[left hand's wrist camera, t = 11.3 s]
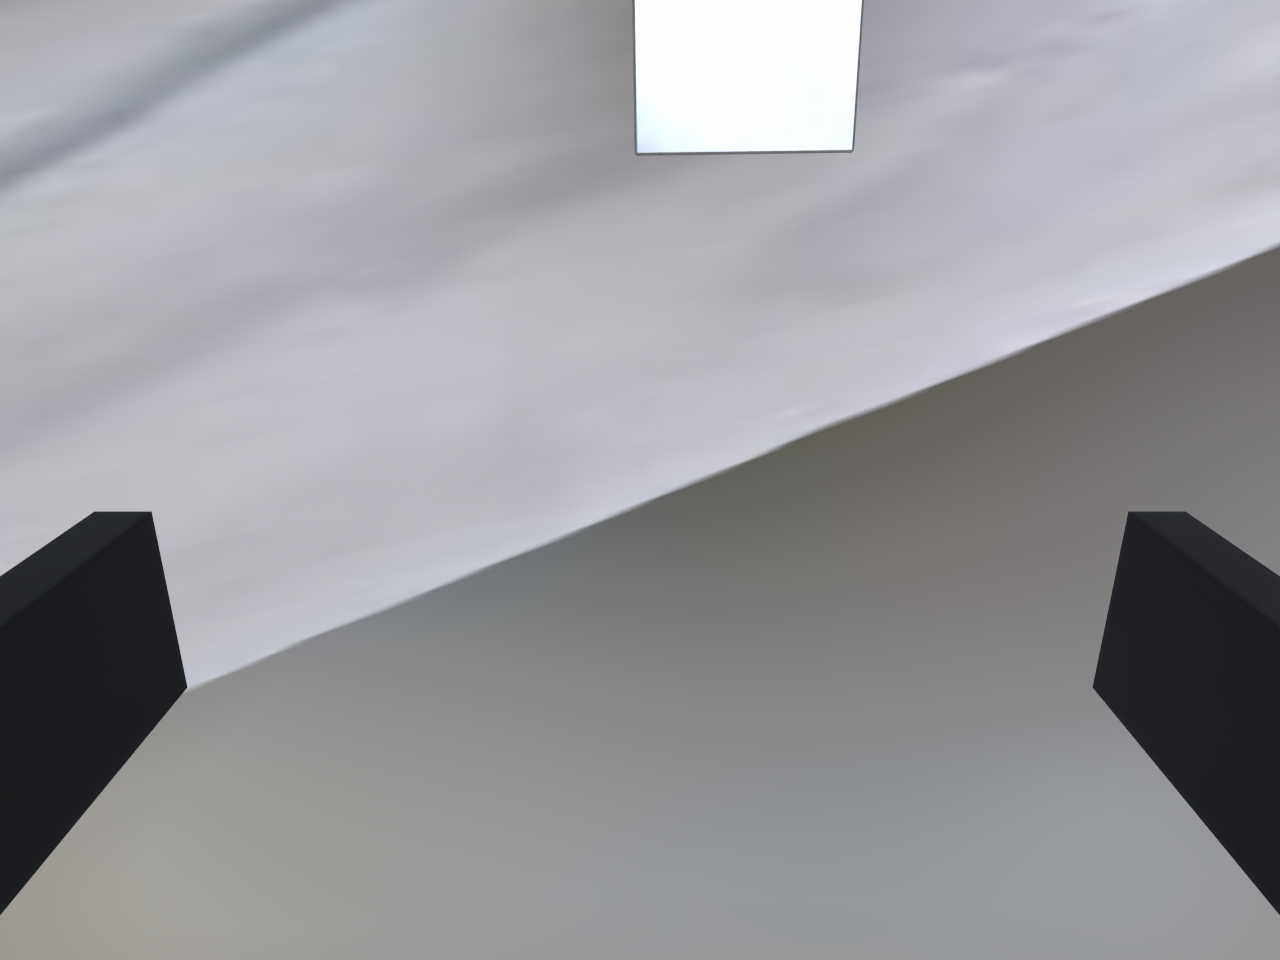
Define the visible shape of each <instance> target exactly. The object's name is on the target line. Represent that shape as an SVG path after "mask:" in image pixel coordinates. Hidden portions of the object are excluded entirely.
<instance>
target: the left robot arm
mask: <svg viewBox="0 0 1280 960" xmlns="http://www.w3.org/2000/svg"><path fill="white" fill-rule="evenodd" d="M186 688H187V684H186V679H185V674H184V669H183V664H182V659H181V654H180V649H179V644H178V639H177V635H176V630H175V625H174V620H173V615H172V610H171V605H170V600H169V595H168V590H167V586H166V581H165V576H164V571H163V566H162V561H161V556H160V551H159V546H158V541H157V536H156V532H155V527H154V522H153V517H152V512H93V513H92V514H90V515H89V516H87V517H86V518H85V519H83V520H82V521H80V522H79V523H77V524H76V525H74V526H73V527H71V528H70V529H69V530H67V531H66V532H64V533H63V534H61V535H60V536H58V537H57V538H55V539H54V540H53V541H51V542H50V543H48V544H47V545H45V546H44V547H42V548H41V549H40V550H38V551H37V552H35V553H34V554H32V555H31V556H29V557H28V558H26V559H25V560H24V561H22V562H21V563H19V564H18V565H16V566H15V567H13V568H12V569H10V570H9V571H8V572H6V573H5V574H3V575H2V576H0V915H1V913H2V912H3V911H4V910H5V909H6V907H7V906H8V905H9V904H10V903H11V901H12V900H13V899H14V898H15V896H16V895H17V894H18V893H19V892H20V890H21V889H22V888H23V887H24V885H25V884H26V883H27V882H28V881H29V879H30V878H31V877H32V876H33V874H34V873H35V872H36V871H37V870H38V868H39V867H40V866H41V865H42V864H43V862H44V861H45V860H46V859H47V857H48V856H49V855H50V854H51V853H52V851H53V850H54V849H55V848H56V847H57V845H58V844H59V843H60V842H61V840H62V839H63V838H64V837H65V836H66V834H67V833H68V832H69V831H70V829H71V828H72V827H73V826H74V825H75V823H76V822H77V821H78V820H79V818H80V817H81V816H82V815H83V814H84V812H85V811H86V810H87V809H88V808H89V806H90V805H91V804H92V803H93V802H94V800H95V799H96V798H97V797H98V795H99V794H100V793H101V792H102V791H103V789H104V788H105V787H106V786H107V784H108V783H109V782H110V781H111V780H112V778H113V777H114V776H115V775H116V774H117V772H118V771H119V770H120V769H121V767H122V766H123V765H124V764H125V763H126V761H127V760H128V759H129V758H130V757H131V755H132V754H133V753H134V752H135V750H136V749H137V748H138V747H139V745H140V744H141V743H142V742H143V741H144V739H145V738H146V737H147V736H148V735H149V733H150V732H151V731H152V730H153V729H154V727H155V726H156V725H157V724H158V722H159V721H160V720H161V719H162V718H163V716H164V715H165V714H166V713H167V711H168V710H169V709H170V708H171V707H172V705H173V704H174V703H175V702H176V701H177V699H178V698H179V697H180V696H181V694H182V693H183V692H184V691H185V690H186ZM1093 688H1094V690H1095V691H1096V692H1097V693H1098V694H1099V696H1100V697H1101V698H1102V699H1103V700H1104V702H1105V703H1106V704H1107V705H1108V707H1109V708H1110V709H1111V710H1112V711H1113V713H1114V714H1115V715H1116V716H1117V718H1118V719H1119V720H1120V721H1121V722H1122V724H1123V725H1124V726H1125V727H1126V729H1127V730H1128V731H1129V732H1130V733H1131V735H1132V736H1133V737H1134V738H1135V739H1136V741H1137V742H1138V743H1139V744H1140V745H1141V747H1142V748H1143V749H1144V750H1145V752H1146V753H1147V754H1148V755H1149V757H1150V758H1151V759H1152V760H1153V761H1154V763H1155V764H1156V765H1157V766H1158V767H1159V769H1160V770H1161V771H1162V772H1163V774H1164V775H1165V776H1166V777H1167V778H1168V780H1169V781H1170V782H1171V783H1172V784H1173V786H1174V787H1175V788H1176V789H1177V791H1178V792H1179V793H1180V794H1181V795H1182V797H1183V798H1184V799H1185V800H1186V802H1187V803H1188V804H1189V805H1190V806H1191V808H1192V809H1193V810H1194V811H1195V812H1196V814H1197V815H1198V816H1199V817H1200V819H1201V820H1202V821H1203V822H1204V823H1205V825H1206V826H1207V827H1208V828H1209V830H1210V831H1211V832H1212V833H1213V834H1214V836H1215V837H1216V838H1217V839H1218V840H1219V842H1220V843H1221V844H1222V845H1223V847H1224V848H1225V849H1226V850H1227V851H1228V853H1229V854H1230V855H1231V856H1232V857H1233V859H1234V860H1235V861H1236V862H1237V864H1238V865H1239V866H1240V867H1241V868H1242V870H1243V871H1244V872H1245V873H1246V875H1247V876H1248V877H1249V878H1250V879H1251V881H1252V882H1253V883H1254V884H1255V885H1256V887H1257V888H1258V889H1259V890H1260V892H1261V893H1262V894H1263V895H1264V896H1265V898H1266V899H1267V900H1268V901H1269V903H1270V904H1271V905H1272V906H1273V907H1274V909H1275V910H1276V911H1277V912H1278V913H1279V915H1280V576H1278V575H1277V574H1275V573H1274V572H1272V571H1271V570H1270V569H1268V568H1267V567H1265V566H1264V565H1262V564H1261V563H1259V562H1258V561H1256V560H1255V559H1254V558H1252V557H1251V556H1249V555H1248V554H1246V553H1245V552H1243V551H1242V550H1240V549H1239V548H1238V547H1236V546H1235V545H1233V544H1232V543H1230V542H1229V541H1227V540H1226V539H1225V538H1223V537H1222V536H1220V535H1219V534H1217V533H1216V532H1214V531H1213V530H1211V529H1210V528H1209V527H1207V526H1206V525H1204V524H1203V523H1201V522H1200V521H1198V520H1197V519H1195V518H1194V517H1192V516H1191V515H1190V514H1188V513H1187V512H1128V517H1127V522H1126V527H1125V532H1124V536H1123V542H1122V546H1121V551H1120V556H1119V561H1118V566H1117V571H1116V576H1115V581H1114V586H1113V590H1112V595H1111V600H1110V605H1109V610H1108V615H1107V620H1106V625H1105V630H1104V635H1103V640H1102V644H1101V649H1100V654H1099V659H1098V664H1097V669H1096V674H1095V679H1094V684H1093Z"/></svg>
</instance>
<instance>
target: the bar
mask: <svg viewBox="0 0 1280 960" xmlns="http://www.w3.org/2000/svg"><path fill="white" fill-rule="evenodd" d="M632 5H633V72H634V138H635V155H637V156H650V155H718V154H786V153H851V152H853V150H854V141H855V126H856V111H857V96H858V81H859V66H860V51H861V36H862V21H863V6H864V0H632Z"/></svg>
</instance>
